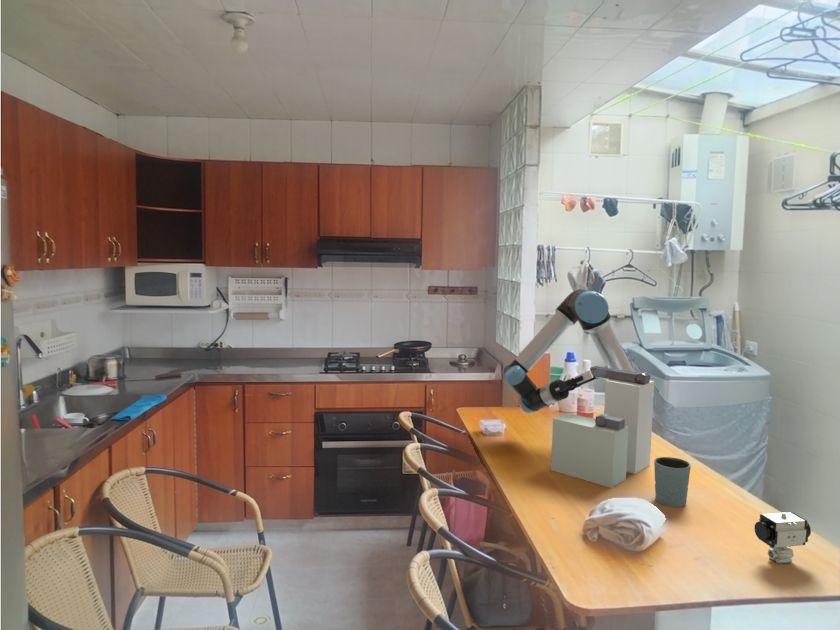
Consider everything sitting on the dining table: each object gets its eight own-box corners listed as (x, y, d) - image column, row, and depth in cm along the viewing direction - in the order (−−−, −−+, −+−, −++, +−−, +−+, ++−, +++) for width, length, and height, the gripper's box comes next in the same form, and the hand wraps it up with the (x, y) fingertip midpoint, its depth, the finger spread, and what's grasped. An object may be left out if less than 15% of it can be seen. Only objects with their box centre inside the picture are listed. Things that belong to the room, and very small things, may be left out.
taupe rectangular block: (601, 464, 208) (605, 380, 205) (617, 456, 217) (621, 375, 214) (635, 474, 200) (639, 386, 197) (649, 465, 209) (654, 381, 206)
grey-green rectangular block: (551, 469, 203) (553, 408, 201) (566, 462, 210) (568, 403, 208) (611, 488, 188) (614, 422, 186) (625, 479, 195) (629, 415, 193)
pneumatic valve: (751, 557, 146) (755, 510, 145) (793, 553, 148) (797, 507, 147) (768, 568, 141) (771, 520, 139) (811, 565, 142) (815, 517, 141)
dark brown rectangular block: (589, 375, 213) (589, 366, 213) (596, 373, 217) (596, 364, 217) (643, 384, 200) (644, 374, 199) (650, 382, 203) (650, 372, 203)
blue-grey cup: (672, 510, 172) (674, 470, 171) (644, 497, 181) (646, 459, 180) (696, 504, 177) (698, 464, 176) (667, 491, 186) (670, 454, 184)
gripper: (575, 395, 234) (621, 376, 220) (540, 407, 216) (587, 386, 203) (567, 377, 236) (612, 357, 222) (532, 387, 218) (578, 366, 204)
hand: (600, 371), depth 212 cm, fingers open, 13 cm apart
